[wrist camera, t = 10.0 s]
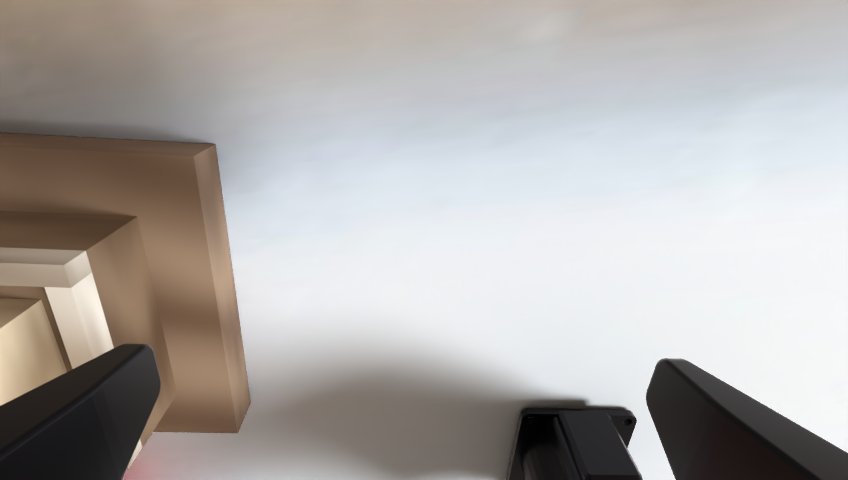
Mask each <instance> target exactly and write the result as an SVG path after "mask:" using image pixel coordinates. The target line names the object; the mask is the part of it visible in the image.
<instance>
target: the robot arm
mask: <svg viewBox="0 0 848 480" xmlns="http://www.w3.org/2000/svg"><path fill="white" fill-rule="evenodd" d="M160 390H161V379H160V374H159V370H158V366H157V362H156V358H155V354H154V350H153V348H152V347H151V346H150V345H148V344H135V343H126V344H122V345H119V346H117V347H115V348H113V349H111V350H110V351H108V352H106V353H104V354H102V355H100V356H98V357H96V358H94V359H92V360H90V361H88V362H86V363H84V364H82V365H80V366H78V367H76V368H74V369H72V370H70V371H68V372H66V373H64V374H62V375H60V376H58V377H56V378H54V379H52V380H50V381H48V382H46V383H44V384H42V385H40V386H38V387H36V388H34V389H33V390H31V391H29V392H27V393H25V394H23V395H21V396H19V397H17V398H15V399H13V400H11V401H9V402H7V403H5V404H3V405H1V406H0V480H122V478H123V476H124V473H125V471H126V469H127V467H128V465H129V463H130V460H131V458H132V456H133V453H134V451H135V449H136V447H137V444H138V442H139V440H140V437H141V435H142V433H143V431H144V428H145V426H146V424H147V422H148V419H149V417H150V415H151V412H152V410H153V408H154V406H155V403H156V401H157V399H158V396H159V394H160ZM646 401H647V406H648V409H649V411H650V414H651V417H652V419H653V422H654V425H655V427H656V430H657V432H658V435H659V438H660V440H661V443H662V445H663V448H664V451H665V453H666V456H667V458H668V461H669V464H670V466H671V469H672V471H673V474H674V476H675V479H676V480H848V453H847V452H845V451H843V450H841V449H840V448H838V447H836V446H835V445H833V444H831V443H829V442H828V441H826V440H824V439H822V438H821V437H819V436H817V435H815V434H814V433H812V432H810V431H808V430H807V429H805V428H803V427H801V426H800V425H798V424H796V423H795V422H793V421H791V420H789V419H788V418H786V417H784V416H782V415H781V414H779V413H777V412H775V411H774V410H772V409H770V408H768V407H767V406H765V405H763V404H761V403H760V402H758V401H756V400H755V399H753V398H751V397H749V396H748V395H746V394H744V393H742V392H741V391H739V390H737V389H735V388H734V387H732V386H730V385H728V384H727V383H725V382H723V381H721V380H720V379H718V378H716V377H715V376H713V375H711V374H709V373H708V372H706V371H704V370H702V369H701V368H699V367H697V366H695V365H694V364H692V363H690V362H688V361H686V360H684V359H667V358H665V359H661V360H660V361H659V362H658V363H657V365H656V367H655V370H654V373H653V376H652V378H651V381H650V384H649V387H648V389H647V393H646ZM529 417H531V418H529ZM636 421H637V420H636V418H635V416H634V414H633V413H632V412H631V411H629V410H598V409H550V408H527V409H524V410H523V411H522V412H521V413H520V416H519V421H518V426H517V430H516V435H515V440H514V445H513V450H512V455H511V460H510V465H509V469H508V474H507V479H506V480H642V476H641V474H640V472H639V470H638V468H637V466H636V464H635V463H634V461H633V459H632V457H631V455H630V453H629V451H628V449H627V447H628V444H629V442H630V439H631V436H632V433H633V430H634V428H635V425H636Z"/></svg>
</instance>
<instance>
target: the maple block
mask: <svg viewBox="0 0 848 480" xmlns="http://www.w3.org/2000/svg"><path fill="white" fill-rule="evenodd" d="M66 372H67V370H66V367H65V365H64V362H63V359H62V356H61V353H60V351H59V348H58V345H57V342H56V339H55V336H54V334H53V331H52V328H51V325H50V322H49V320H48V317H47V314H46V311H45V308H44V306H43V303H42V300H41V299H12V298H0V406H1V405H3V404H5V403H7V402H9V401H11V400H13V399H15V398H17V397H19V396H21V395H23V394H25V393H27V392H29V391H31V390H33V389H34V388H36V387H38V386H40V385H42V384H44V383H46V382H48V381H50V380H52V379H54V378H56V377H58V376H60V375H62V374H64V373H66Z"/></svg>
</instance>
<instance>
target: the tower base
mask: <svg viewBox="0 0 848 480" xmlns="http://www.w3.org/2000/svg"><path fill="white" fill-rule="evenodd" d="M0 298H12V299H41V300H42V303H43V306H44V308H45V311H46V314H47V317H48V320H49V322H50V325H51V328H52V331H53V334H54V336H55V339H56V342H57V345H58V348H59V351H60V353H61V356H62V359H63V362H64V365H65V367H66V370H67V372H68V371H70V370H72V369H74V368H76V367H78V366H80V365H82V364H84V363H86V362H88V361H90V360H92V359H94V358H96V357H98V356H100V355H102V354H104V353H106V352H108V351H110V350H111V349H113V348H115V347H117V346H119V345H122V344H126V343H135V344H148V345H150V346H151V347H152V348H153V350H154V354H155V358H156V362H157V366H158V370H159V374H160V379H161V390H160V394H159V396H158V399H157V401H156V403H155V406H154V408H153V410H152V412H151V415H150V417H149V419H148V422H147V424H146V426H145V428H144V431H143V433H142V435H141V437H140V440H139V442H138V444H137V447H136V449H135V451H134V453H133V456H132V458H131V460H130V463H129V465H128V467H127V469H129V468H130V466H131V465H132V463H133V462H134V460H135V458H136V457H137V455H138V454H139V452H140V451H141V449H142V448H143V446H144V445H145V443H146V441H147V440H148V438H149V437H150V435H151V434H152V432H200V433H238V431H239V429H240V426H241V424H242V422H243V419H244V417H245V415H246V412H247V410H248V408H249V405H250V395H249V388H248V381H247V373H246V366H245V358H244V351H243V344H242V336H241V329H240V322H239V314H238V307H237V300H236V292H235V285H234V278H233V270H232V263H231V256H230V248H229V241H228V233H227V226H226V219H225V211H224V204H223V197H222V189H221V182H220V175H219V167H218V160H217V153H216V145H215V144H203V143H184V142H165V141H146V140H127V139H108V138H90V137H71V136H52V135H33V134H14V133H0Z"/></svg>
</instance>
